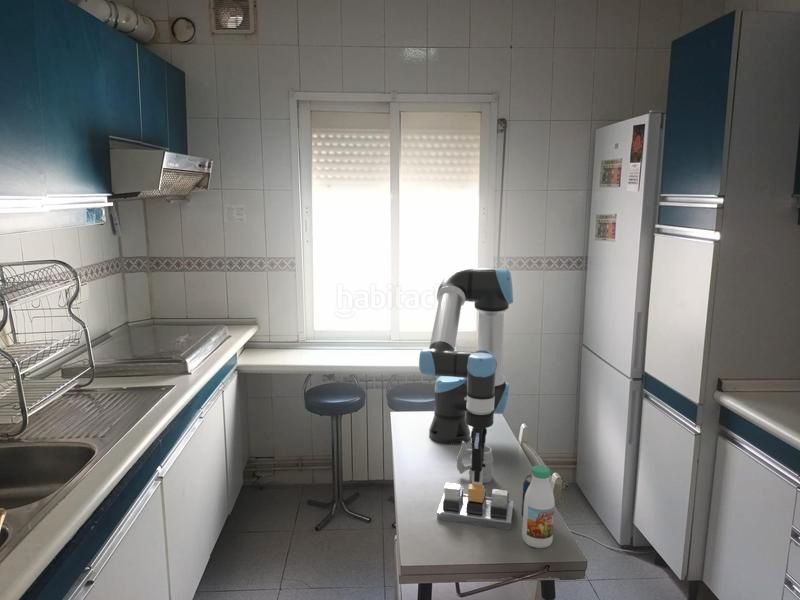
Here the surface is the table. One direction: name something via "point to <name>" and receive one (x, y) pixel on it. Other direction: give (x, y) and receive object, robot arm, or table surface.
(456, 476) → the table surface
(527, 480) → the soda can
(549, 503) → the milk bottle
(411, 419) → the table surface
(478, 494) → the toggle
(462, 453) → the mug
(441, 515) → the breaker panel
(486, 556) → the table surface
